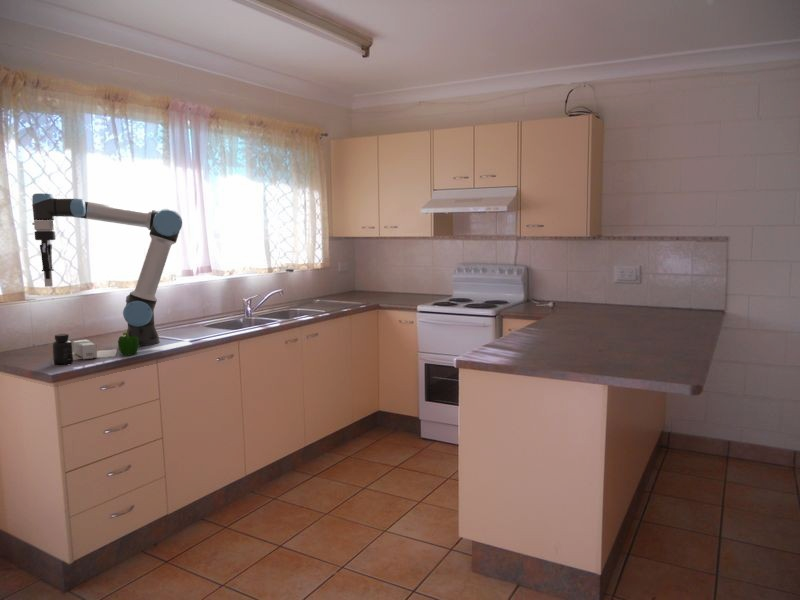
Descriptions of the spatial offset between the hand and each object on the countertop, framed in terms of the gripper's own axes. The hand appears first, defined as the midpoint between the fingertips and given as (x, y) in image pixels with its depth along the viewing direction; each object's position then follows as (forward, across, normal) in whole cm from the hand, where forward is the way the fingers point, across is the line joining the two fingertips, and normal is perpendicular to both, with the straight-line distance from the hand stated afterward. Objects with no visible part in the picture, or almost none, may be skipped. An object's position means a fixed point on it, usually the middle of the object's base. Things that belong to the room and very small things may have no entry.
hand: (48, 286), depth 257 cm
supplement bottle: (+30, +24, +6) cm, 38 cm away
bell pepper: (+30, +14, +30) cm, 44 cm away
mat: (+29, +10, +16) cm, 35 cm away
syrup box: (+26, +19, +16) cm, 36 cm away
